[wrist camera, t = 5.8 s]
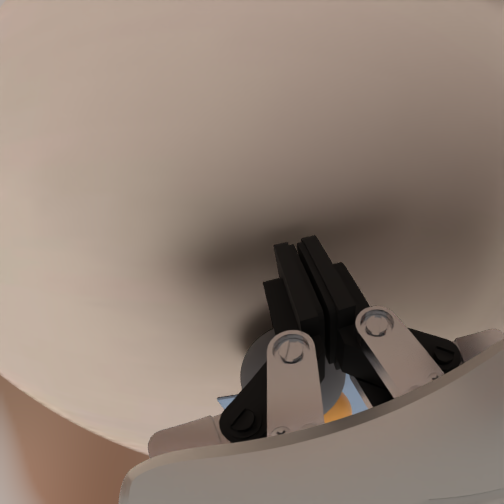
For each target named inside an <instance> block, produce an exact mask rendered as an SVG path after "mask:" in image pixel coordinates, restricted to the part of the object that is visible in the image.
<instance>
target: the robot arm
mask: <svg viewBox="0 0 504 504" xmlns="http://www.w3.org/2000/svg"><path fill="white" fill-rule="evenodd" d="M297 249H298V253H297V251H296V249H295V246H294V245H293V244H292V245H288V242H285V243H281V244H277V245H274V251H275V256H276V261H277V267H278V272H279V277H280V278H278V279H274V280H269V281H265V282H263V285H264V289H265V294H266V298H267V302H268V306H269V310H270V315H271V319H272V323H273V327H274V332H275V337H274V338H273V339H272V340H271V341H270V343H269V344H268V348H267V361H266V362H265V363H264V365H263V366H262V367H261V368H260V369H259V371H258V372H257V373H256V374H255V375H254V377H253V378H252V379H251V380H250V381H249V382H248V384H247V385H246V386H245V387H244V388H243V389H242V391H241V392H240V393H239V394H238V395H237V396H236V397H235V399H234V400H233V401H232V402H231V403H230V404H229V405H228V406H227V407H226V409H225V410H224V411H223V413H222V414H220V415H217V416H214V417H211V416H207V417H204V418H201V419H198V420H195V421H191V422H188V423H185V424H182V425H178V426H175V427H171V428H168V429H164V430H161V431H158V432H156V433H155V434H154V435H153V436H152V437H151V438H150V440H149V443H148V452H149V456H150V459H148V460H146V461H144V462H142V463H140V464H138V465H137V466H135V467H133V468H132V469H131V470H130V471H129V472H128V473H127V475H126V477H125V478H124V480H123V483H122V486H121V491H120V496H119V504H504V333H503V332H501V331H500V330H498V329H489V330H485V331H482V332H478V333H475V334H471V335H467V336H464V337H460V338H456V339H455V341H454V342H451V341H449V340H447V339H444V338H440V337H437V336H434V335H430V334H427V333H423V332H420V331H417V330H413V329H410V328H407V327H406V326H405V325H404V324H403V322H402V321H401V320H400V319H399V318H398V317H397V315H396V314H395V313H394V312H392V311H391V310H390V309H388V308H385V307H381V306H371V307H370V306H369V304H368V303H367V301H366V299H365V298H364V296H363V294H362V293H361V291H360V289H359V288H358V286H357V284H356V283H355V281H354V280H353V278H352V276H351V275H350V273H349V272H348V270H347V268H346V267H345V265H344V264H343V263H342V262H340V263H336V264H332V262H331V260H330V259H329V257H328V255H327V254H326V252H325V250H324V249H323V247H322V245H321V244H320V242H319V240H318V239H317V237H316V236H315V235H314V236H310V237H306V238H302V239H301V242H300V243H297ZM325 356H326V358H327V361H328V363H329V364H332V363H334V366H335V369H336V370H339V369H341V371H342V372H344V373H346V374H349V376H350V379H351V381H352V383H353V384H354V386H355V388H356V389H357V391H358V393H359V394H360V396H361V398H362V400H363V401H364V403H365V405H366V406H367V408H368V409H367V410H365V411H362V412H359V413H356V414H353V415H350V416H347V417H344V418H341V419H338V420H335V421H331V422H328V423H324V414H323V405H322V396H321V388H320V384H321V382H322V381H323V379H324V378H325Z"/></svg>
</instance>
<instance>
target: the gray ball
mask: <svg viewBox="0 0 504 504" xmlns="http://www.w3.org/2000/svg"><path fill="white" fill-rule="evenodd" d="M274 337H275V332H274V329H272V330H270V331H268V332H267V333H265V334H263V335H262V336H261V337H259V338H258V339H257V340H256V341H255V342H254V343H253V344H252V346H251V347H250V348H249V350H248V351H247V353H246V355H245V357H244V360H243V363H242V367H241V374H240V376H241V386H242V389H243V388H244V387H245V386H246V385H247V384H248V382H249V381H250V380H251V379H252V378H253V377H254V375H255V374H256V373H257V372H258V371H259V369H260V368H261V367H262V366H263V365H264V363H265V362H266V361H267V348H268V344H269V343H270V341H271V340H272V339H273V338H274ZM345 377H346V373H344V372H342V371H341V369H339V370H336V369H335V366H334V363H332V364H329V363H328V361H327V358H326V356H325V378H324V379H323V381H322V382H321V384H320V388H321V396H322V405H323V414H326V413H327V412H328V411H329V410H330V409H331V408H332V407H333V406H334V405H335V403H336V402H337V400H338V399H339V397H340V395H341V393H342V391H343V387H344V384H345Z"/></svg>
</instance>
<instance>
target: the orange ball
mask: <svg viewBox="0 0 504 504" xmlns="http://www.w3.org/2000/svg"><path fill="white" fill-rule="evenodd" d="M350 415H352V408H351V404H350V402H349V400H348V398H347V396H346V395H345V394H344V393H343V392H342V393H341V395H340V397H339V399H338V400H337V402H336V403H335V405H334V406H333V407H332V408H331V409H330V410H329V411H328V412H327V413H326V414H324V423H328V422H331V421H335V420H338V419H341V418H344V417H347V416H350Z"/></svg>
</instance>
